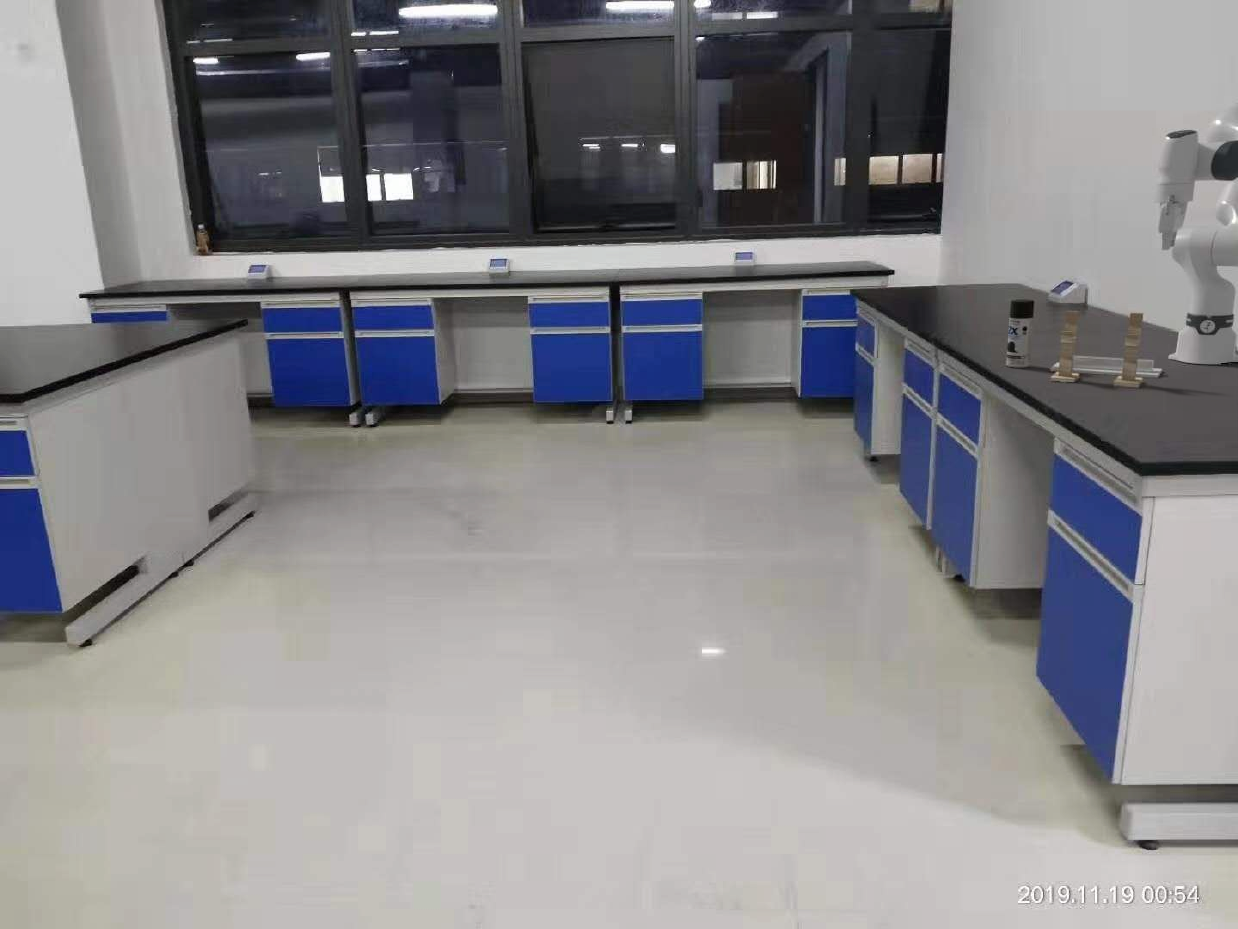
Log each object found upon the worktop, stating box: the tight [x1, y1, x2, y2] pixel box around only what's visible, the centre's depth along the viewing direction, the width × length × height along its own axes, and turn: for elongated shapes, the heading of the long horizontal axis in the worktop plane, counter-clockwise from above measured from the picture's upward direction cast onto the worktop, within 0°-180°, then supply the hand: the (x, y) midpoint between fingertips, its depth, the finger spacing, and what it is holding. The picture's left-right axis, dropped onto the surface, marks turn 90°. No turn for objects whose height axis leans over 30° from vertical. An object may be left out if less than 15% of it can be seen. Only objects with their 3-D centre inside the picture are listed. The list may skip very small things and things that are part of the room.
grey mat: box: [1049, 361, 1163, 379], centre depth 277 cm, size 10×28×1 cm, turn 55°
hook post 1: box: [1050, 310, 1080, 383], centre depth 266 cm, size 8×6×19 cm
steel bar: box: [1073, 355, 1155, 372], centre depth 276 cm, size 3×24×3 cm, turn 55°
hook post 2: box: [1113, 312, 1144, 388], centre depth 257 cm, size 8×6×19 cm
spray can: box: [1005, 298, 1035, 369], centre depth 286 cm, size 7×7×20 cm
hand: (1168, 248), depth 255 cm, fingers open, 8 cm apart
